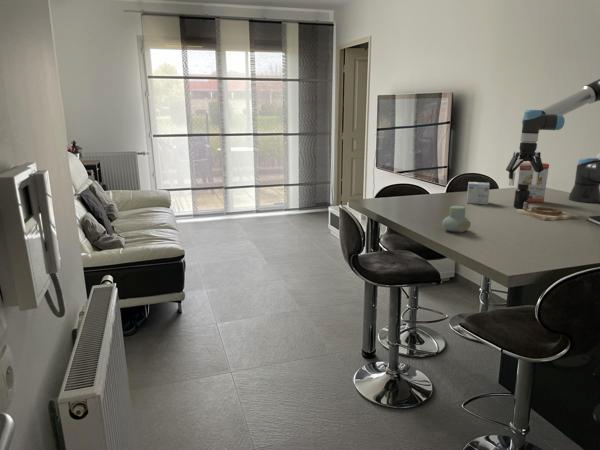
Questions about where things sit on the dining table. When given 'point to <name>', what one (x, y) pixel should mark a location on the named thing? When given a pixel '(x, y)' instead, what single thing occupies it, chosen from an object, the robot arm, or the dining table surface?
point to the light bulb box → (478, 193)
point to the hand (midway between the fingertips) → (522, 185)
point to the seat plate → (547, 217)
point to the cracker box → (526, 178)
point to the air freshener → (456, 220)
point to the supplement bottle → (521, 196)
